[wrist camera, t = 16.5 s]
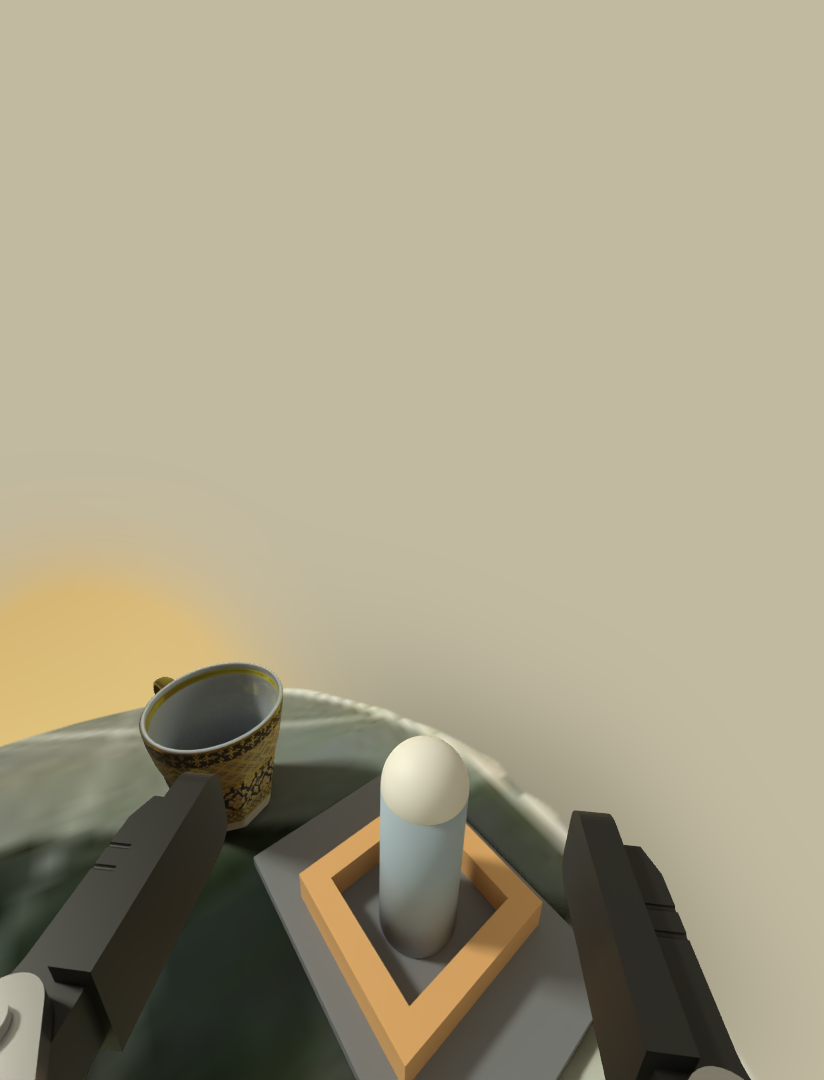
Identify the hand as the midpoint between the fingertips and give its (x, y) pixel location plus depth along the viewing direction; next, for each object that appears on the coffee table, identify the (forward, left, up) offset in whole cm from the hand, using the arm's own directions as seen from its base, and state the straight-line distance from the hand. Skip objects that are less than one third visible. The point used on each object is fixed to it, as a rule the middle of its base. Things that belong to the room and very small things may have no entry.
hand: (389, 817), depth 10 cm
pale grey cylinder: (-8, +8, -23) cm, 26 cm away
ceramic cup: (-26, +1, -24) cm, 36 cm away
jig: (-8, +8, -24) cm, 27 cm away
